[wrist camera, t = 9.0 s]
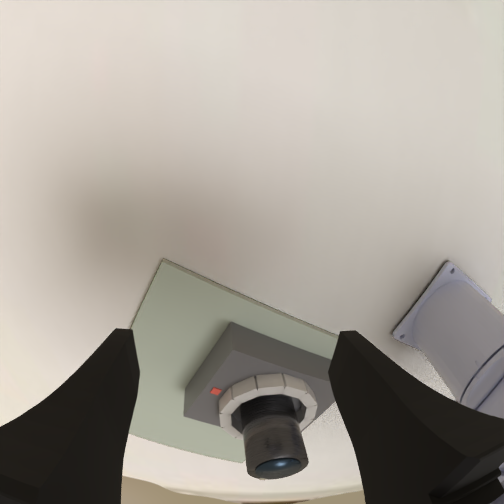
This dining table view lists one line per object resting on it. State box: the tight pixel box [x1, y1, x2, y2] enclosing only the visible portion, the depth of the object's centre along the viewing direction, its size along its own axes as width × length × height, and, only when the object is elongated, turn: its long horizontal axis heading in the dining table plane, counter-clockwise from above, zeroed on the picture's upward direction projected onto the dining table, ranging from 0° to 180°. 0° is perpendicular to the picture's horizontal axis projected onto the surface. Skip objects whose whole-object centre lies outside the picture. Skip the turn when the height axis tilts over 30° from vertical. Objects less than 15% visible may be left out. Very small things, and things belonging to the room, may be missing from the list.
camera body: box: [183, 322, 335, 440], centre depth 23 cm, size 10×8×4 cm
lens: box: [240, 394, 308, 480], centre depth 20 cm, size 4×4×6 cm
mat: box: [129, 259, 339, 463], centre depth 25 cm, size 17×20×1 cm
